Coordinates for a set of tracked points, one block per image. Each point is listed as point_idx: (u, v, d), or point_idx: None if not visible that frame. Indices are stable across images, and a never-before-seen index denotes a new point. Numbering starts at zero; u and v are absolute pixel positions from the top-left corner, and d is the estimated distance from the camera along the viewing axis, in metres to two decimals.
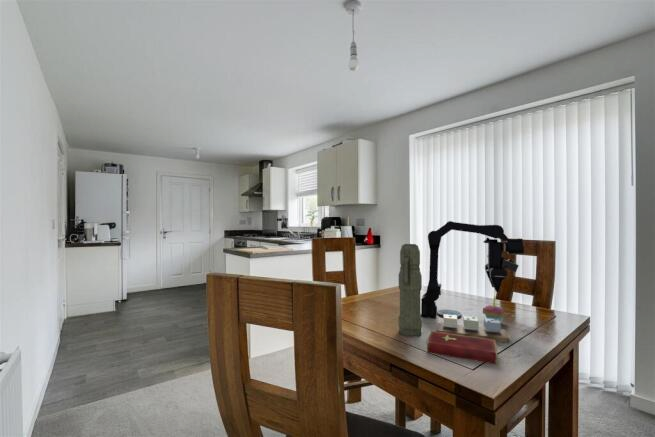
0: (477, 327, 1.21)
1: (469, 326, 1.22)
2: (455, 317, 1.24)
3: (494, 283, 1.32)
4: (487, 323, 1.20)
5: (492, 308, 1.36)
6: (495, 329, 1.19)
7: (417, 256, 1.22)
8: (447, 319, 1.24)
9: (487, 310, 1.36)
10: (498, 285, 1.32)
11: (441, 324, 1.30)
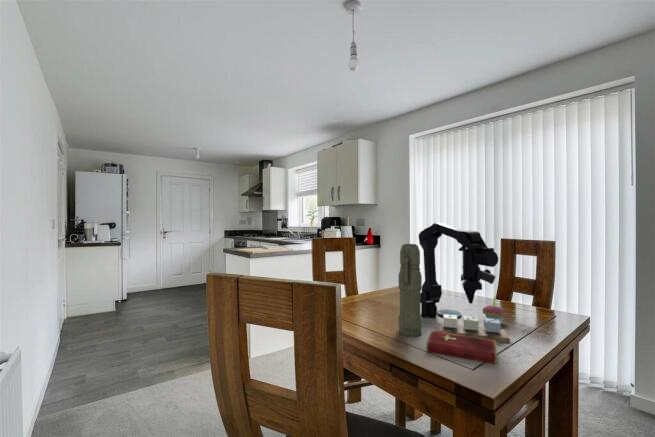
0: (477, 327, 1.21)
1: (469, 326, 1.22)
2: (455, 317, 1.24)
3: (467, 294, 1.23)
4: (487, 323, 1.20)
5: (492, 308, 1.36)
6: (495, 329, 1.19)
7: (417, 256, 1.22)
8: (447, 319, 1.24)
9: (487, 310, 1.36)
10: (471, 296, 1.22)
11: (441, 324, 1.30)
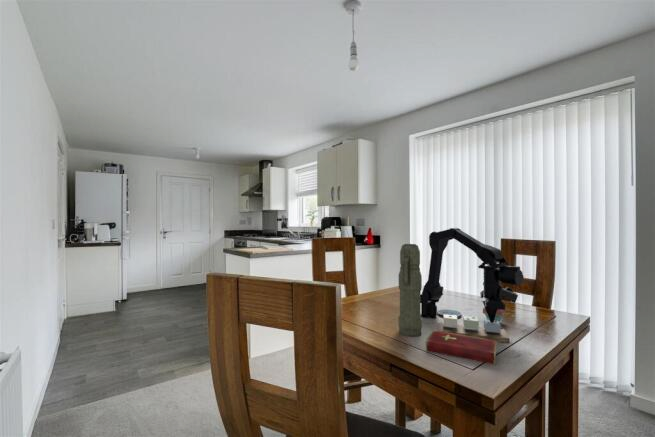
0: (477, 327, 1.21)
1: (469, 326, 1.22)
2: (455, 317, 1.24)
3: (488, 313, 1.20)
4: (487, 325, 1.20)
5: None
6: (495, 331, 1.19)
7: (417, 256, 1.22)
8: (447, 319, 1.24)
9: None
10: (493, 315, 1.20)
11: (441, 324, 1.30)
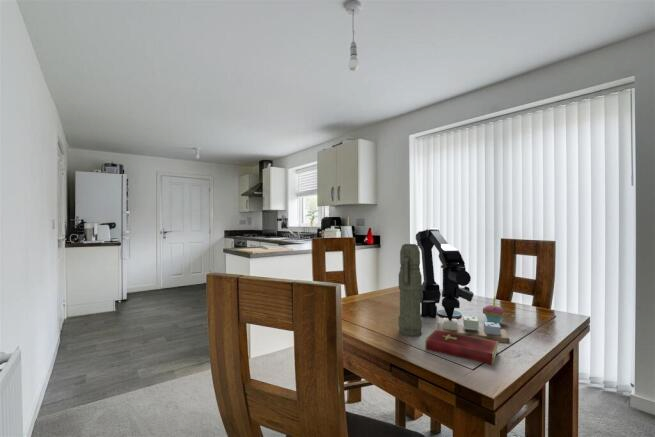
0: (477, 327, 1.21)
1: (469, 326, 1.22)
2: (455, 321, 1.24)
3: (446, 311, 1.25)
4: (487, 327, 1.19)
5: (492, 308, 1.36)
6: (495, 333, 1.19)
7: (417, 256, 1.22)
8: (447, 323, 1.24)
9: (487, 310, 1.36)
10: (451, 313, 1.25)
11: (441, 324, 1.30)
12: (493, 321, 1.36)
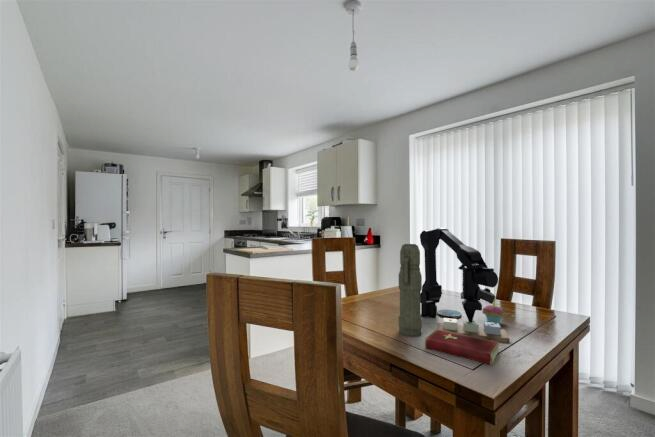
0: (477, 331, 1.21)
1: (469, 330, 1.22)
2: (455, 321, 1.24)
3: (467, 313, 1.23)
4: (487, 327, 1.19)
5: (492, 308, 1.36)
6: (495, 333, 1.19)
7: (417, 256, 1.22)
8: (447, 323, 1.24)
9: (487, 310, 1.36)
10: (471, 315, 1.23)
11: (441, 324, 1.30)
12: (493, 321, 1.36)
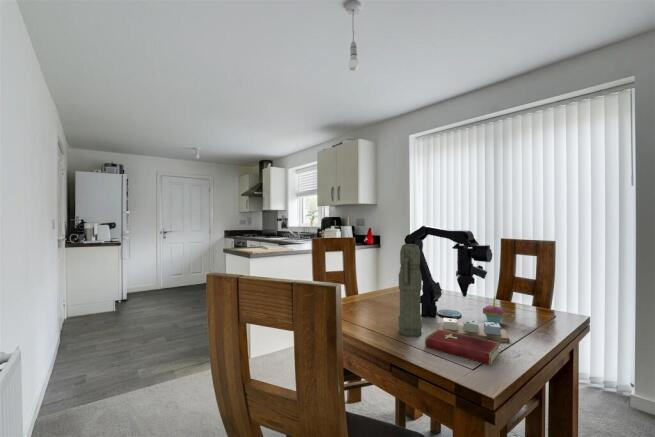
0: (477, 331, 1.21)
1: (469, 330, 1.22)
2: (455, 321, 1.24)
3: (461, 288, 1.34)
4: (487, 327, 1.19)
5: (492, 308, 1.36)
6: (495, 333, 1.19)
7: (417, 256, 1.22)
8: (447, 323, 1.24)
9: (487, 310, 1.36)
10: (465, 290, 1.33)
11: (441, 324, 1.30)
12: (493, 321, 1.36)
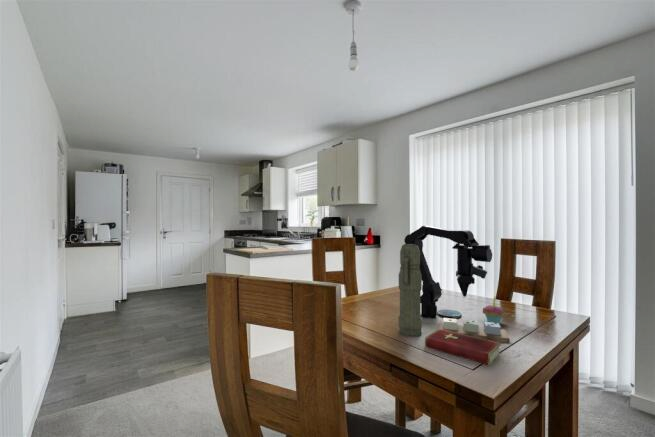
0: (477, 331, 1.21)
1: (469, 330, 1.22)
2: (455, 321, 1.24)
3: (461, 288, 1.34)
4: (487, 327, 1.19)
5: (492, 308, 1.36)
6: (495, 333, 1.19)
7: (417, 256, 1.22)
8: (447, 323, 1.24)
9: (487, 310, 1.36)
10: (465, 290, 1.33)
11: (441, 324, 1.30)
12: (493, 321, 1.36)
